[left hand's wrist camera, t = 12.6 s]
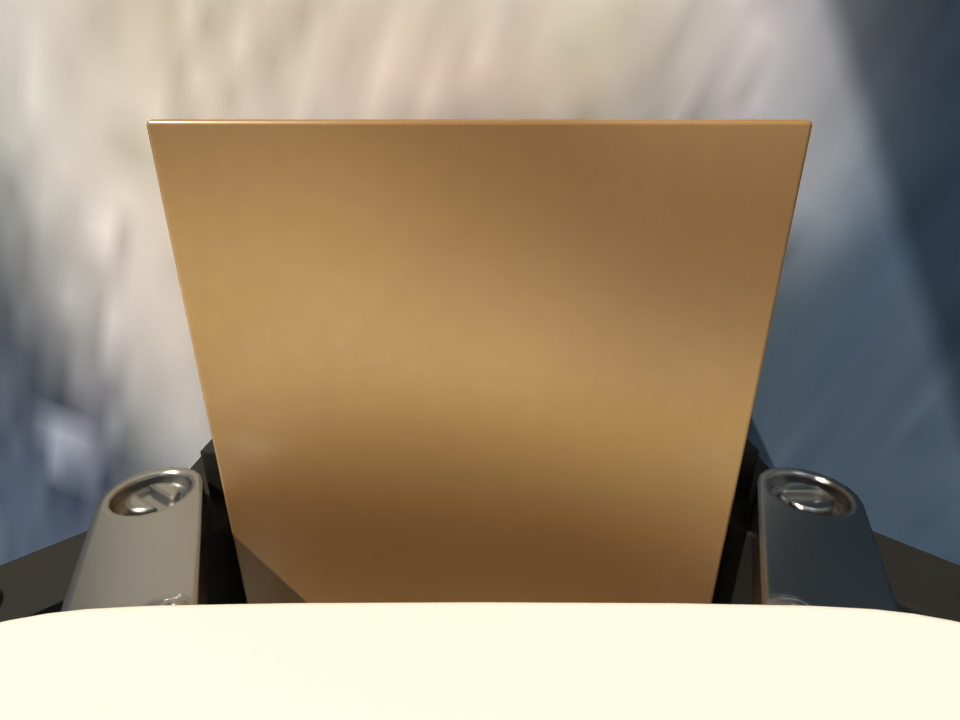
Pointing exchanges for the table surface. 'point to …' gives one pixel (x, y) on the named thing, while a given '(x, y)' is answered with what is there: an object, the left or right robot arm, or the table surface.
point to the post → (479, 347)
